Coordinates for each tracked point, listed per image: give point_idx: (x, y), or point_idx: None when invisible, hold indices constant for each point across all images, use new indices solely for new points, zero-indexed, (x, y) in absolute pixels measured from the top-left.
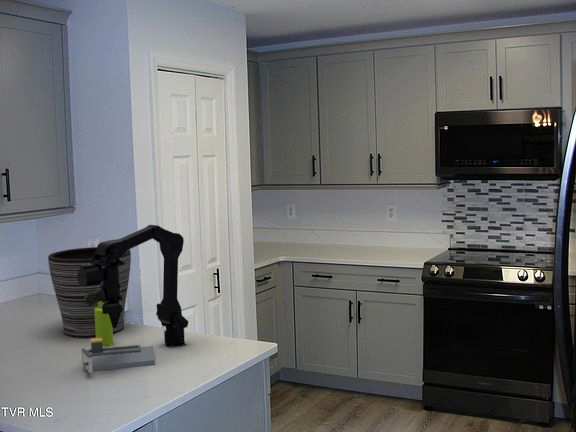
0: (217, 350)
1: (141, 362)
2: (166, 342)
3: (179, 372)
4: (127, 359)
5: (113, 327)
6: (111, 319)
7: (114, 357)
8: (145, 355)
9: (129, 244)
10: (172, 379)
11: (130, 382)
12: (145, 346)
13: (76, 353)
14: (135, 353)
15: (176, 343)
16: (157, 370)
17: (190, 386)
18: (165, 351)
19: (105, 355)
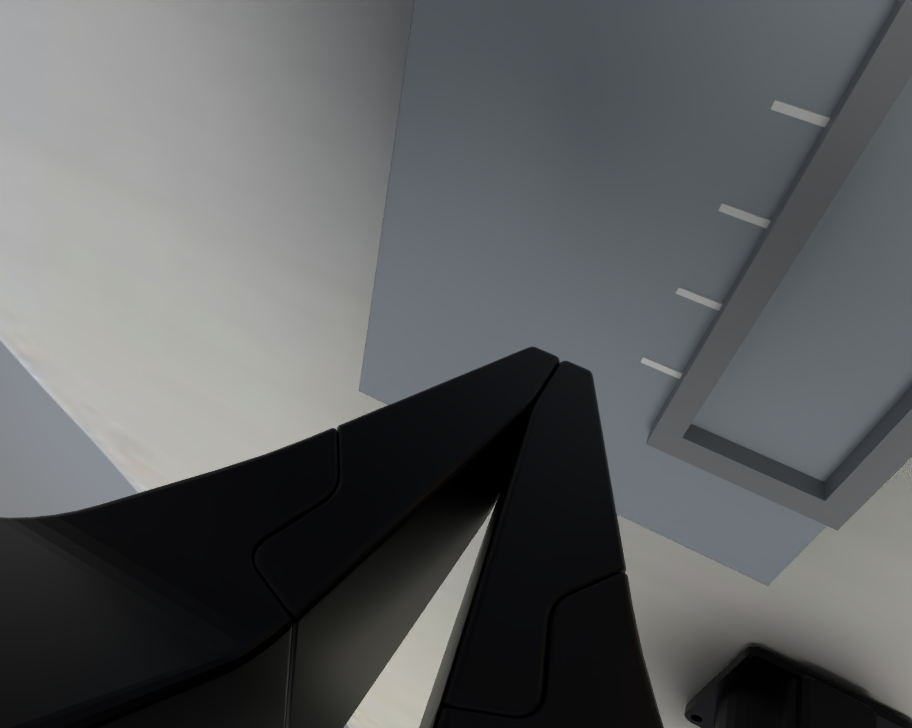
0: None
1: (375, 299)
2: (795, 689)
3: (194, 394)
4: (489, 230)
5: (526, 360)
6: (334, 450)
7: (655, 131)
8: None
9: None
10: (97, 311)
11: (68, 59)
12: (806, 544)
13: None
14: (637, 374)
15: (721, 700)
16: (259, 324)
17: (6, 325)
18: (650, 575)
19: (858, 41)
